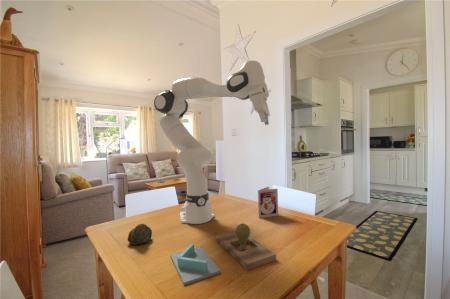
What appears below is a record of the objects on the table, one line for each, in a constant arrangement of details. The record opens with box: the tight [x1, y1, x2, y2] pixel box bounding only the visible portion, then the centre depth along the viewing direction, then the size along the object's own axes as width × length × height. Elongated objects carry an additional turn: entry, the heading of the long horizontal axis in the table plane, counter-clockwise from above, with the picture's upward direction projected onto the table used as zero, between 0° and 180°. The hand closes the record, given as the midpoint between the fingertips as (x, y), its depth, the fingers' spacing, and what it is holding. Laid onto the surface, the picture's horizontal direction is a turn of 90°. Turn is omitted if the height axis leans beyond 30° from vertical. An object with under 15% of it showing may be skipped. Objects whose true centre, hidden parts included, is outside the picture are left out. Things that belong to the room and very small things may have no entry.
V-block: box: [169, 243, 222, 286], centre depth 74 cm, size 18×12×4 cm, turn 27°
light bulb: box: [235, 223, 251, 251], centre depth 83 cm, size 6×6×10 cm
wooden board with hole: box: [215, 230, 277, 271], centre depth 83 cm, size 24×12×2 cm, turn 27°
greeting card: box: [257, 186, 279, 219], centre depth 120 cm, size 11×7×15 cm, turn 104°
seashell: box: [127, 223, 153, 245], centre depth 93 cm, size 11×12×10 cm
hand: (265, 123), depth 99 cm, fingers open, 8 cm apart
